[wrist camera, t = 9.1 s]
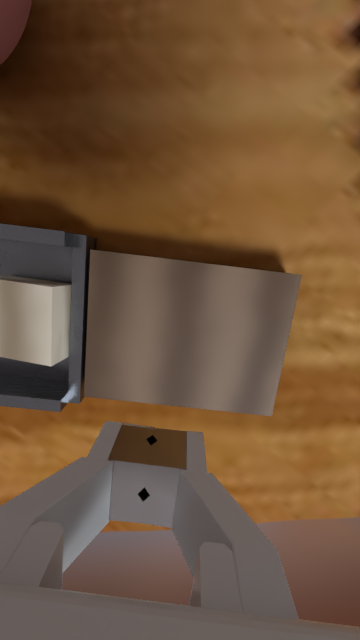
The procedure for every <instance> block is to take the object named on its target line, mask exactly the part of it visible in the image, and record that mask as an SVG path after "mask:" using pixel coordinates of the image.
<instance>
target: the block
mask: <svg viewBox="0 0 360 640" xmlns="http://www.w3.org/2000/svg"><path fill="white" fill-rule="evenodd" d="M71 287H72V284H69V283H62V282H55V281H48V280H40V279H33V278H26V277H19V276H12V275H4V276H0V357H4V358H9V359H14V360H19V361H25V362H30V363H35V364H40V365H46V366H53V365H55V364H57V363H58V362H60V361H62V360H64V359H65V358H67V357H69V354H70V320H71Z"/></svg>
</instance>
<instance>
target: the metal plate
mask: <svg viewBox="0 0 360 640" xmlns="http://www.w3.org/2000/svg"><path fill="white" fill-rule="evenodd" d="M301 276H302V275H298V274H290V273H282V272H274V271H265V270H257V269H249V268H240V267H232V266H224V265H215V264H207V263H199V262H191V261H182V260H174V259H166V258H157V257H149V256H141V255H132V254H124V253H116V252H107V251H99V250H91V249H90V269H89V292H88V315H87V337H86V360H85V383H84V397H94V398H103V399H113V400H122V401H132V402H141V403H151V404H161V405H170V406H180V407H189V408H199V409H208V410H218V411H228V412H237V413H247V414H256V415H266V416H272V412H273V408H274V403H275V398H276V393H277V389H278V384H279V379H280V375H281V370H282V365H283V361H284V356H285V351H286V346H287V342H288V337H289V332H290V328H291V323H292V318H293V314H294V309H295V304H296V299H297V295H298V290H299V285H300V281H301Z"/></svg>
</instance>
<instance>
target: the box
mask: <svg viewBox="0 0 360 640" xmlns="http://www.w3.org/2000/svg"><path fill="white" fill-rule="evenodd" d="M96 240H97V238H94V237H91V236H87V235H80V234H72V233H69V232H65V231H57V230H49V229H41V228H33V227H25V226H16V225H8V224H0V276H4V275H12V276H19V277H26V278H33V279H40V280H48V281H55V282H62V283H69V284H72V287H71V320H70V354H69V357H67V358H65V359H64V360H62V361H60V362H58V363H57V364H55V365H53V366H46V365H40V364H35V363H30V362H25V361H19V360H14V359H9V358H4V357H0V406H8V407H17V408H27V409H37V410H47V411H56V412H61V411H62V409H63V408H64V407H65V406H66V404H67V403H68V402H70V403H79V404H80V402H81V401H82V400H83V398H84V383H85V360H86V337H87V315H88V292H89V269H90V249H91V250H96Z"/></svg>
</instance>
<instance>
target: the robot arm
mask: <svg viewBox="0 0 360 640" xmlns="http://www.w3.org/2000/svg"><path fill="white" fill-rule="evenodd" d="M109 520H115V521H126V522H137V523H144V524H151V525H157V526H163V527H170V528H172V531H173V533H174V535H175V537H176V540H177V542H178V544H179V547H180V549H181V551H182V553H183V556H184V558H185V560H186V562H187V565H188V567H189V569H190V571H191V574H192V576H193V578H194V582H193V588H192V593H191V598H190V604H189V606H186V605H179V604H170V603H163V602H154V601H146V600H139V599H131V598H123V597H115V596H107V595H99V594H92V593H84V592H76V591H68V590H62V573H63V572H64V571H65V570H66V569H67V567H68V566H69V565H70V564H71V563H72V562H73V561H74V559H76V557H77V556H78V555H79V554H80V553H81V552H82V551H83V550H84V549H85V547H86V546H87V545H88V544H89V543H90V542H91V541H92V540H93V539H94V538H95V537H96V535H97V534H98V533H99V532H100V531H101V530H102V529H103V528H104V527H105V526H106V524H107V523H108V522H109ZM0 640H360V627H354V626H346V625H339V624H331V623H322V622H315V621H307V620H299V618H298V615H297V612H296V609H295V605H294V602H293V599H292V596H291V592H290V589H289V586H288V583H287V580H286V577H285V573H284V570H283V567H282V564H281V560H280V557H279V554H278V551H277V548H276V547H275V546H274V545H273V544H272V543H271V541H270V540H269V539H268V538H267V537H266V536H265V535H264V533H263V532H262V531H261V530H260V529H259V528H258V526H257V525H256V524H255V523H254V522H253V520H252V519H251V518H250V517H249V516H248V515H247V513H246V512H245V511H244V510H243V509H242V508H241V506H240V505H239V504H238V503H237V502H236V501H235V499H234V498H233V497H232V496H231V495H230V494H229V492H228V491H227V490H226V489H225V488H224V487H223V485H222V484H221V483H220V482H219V481H218V480H217V478H216V477H215V476H214V475H213V474H212V473H207V467H206V456H205V446H204V435H203V433H202V432H192V431H178V430H169V429H160V428H155V427H148V426H141V425H135V424H128V423H121V422H113V421H107V422H105V423H104V425H103V427H102V429H101V431H100V433H99V435H98V437H97V439H96V441H95V443H94V445H93V447H92V449H91V451H90V453H89V455H88V456H87V458H86V457H81V458H79V459H78V460H76V461H74V462H73V463H71V464H69V465H68V466H66V467H64V468H63V469H61V470H59V471H58V472H56V473H55V474H53V475H51V476H50V477H48V478H46V479H45V480H43V481H41V482H40V483H38V484H36V485H35V486H33V487H31V488H30V489H28V490H26V491H25V492H23V493H21V494H20V495H18V496H16V497H15V498H13V499H11V500H10V501H8V502H6V503H5V504H3V505H1V506H0Z"/></svg>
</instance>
